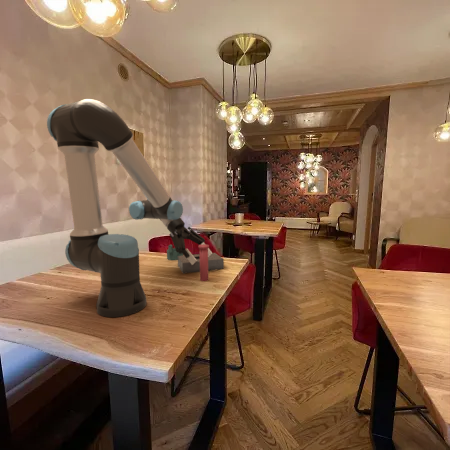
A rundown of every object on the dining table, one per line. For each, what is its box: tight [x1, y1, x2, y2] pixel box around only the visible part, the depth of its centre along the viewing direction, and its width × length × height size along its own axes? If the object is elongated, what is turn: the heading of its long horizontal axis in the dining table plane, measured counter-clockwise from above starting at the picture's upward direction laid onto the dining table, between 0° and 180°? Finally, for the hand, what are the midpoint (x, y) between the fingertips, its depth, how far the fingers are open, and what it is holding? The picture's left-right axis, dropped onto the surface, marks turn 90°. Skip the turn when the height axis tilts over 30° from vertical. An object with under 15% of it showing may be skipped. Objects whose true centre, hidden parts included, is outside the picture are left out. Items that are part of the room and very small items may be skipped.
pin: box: [197, 243, 210, 282], centre depth 109 cm, size 4×4×15 cm
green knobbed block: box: [166, 244, 184, 261], centre depth 146 cm, size 9×9×9 cm
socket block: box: [177, 252, 225, 274], centre depth 129 cm, size 20×14×5 cm
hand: (202, 258), depth 111 cm, fingers open, 13 cm apart
